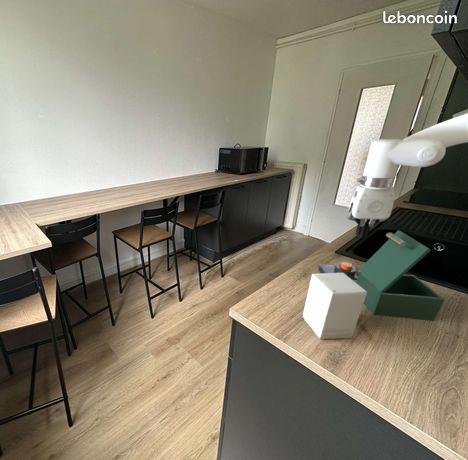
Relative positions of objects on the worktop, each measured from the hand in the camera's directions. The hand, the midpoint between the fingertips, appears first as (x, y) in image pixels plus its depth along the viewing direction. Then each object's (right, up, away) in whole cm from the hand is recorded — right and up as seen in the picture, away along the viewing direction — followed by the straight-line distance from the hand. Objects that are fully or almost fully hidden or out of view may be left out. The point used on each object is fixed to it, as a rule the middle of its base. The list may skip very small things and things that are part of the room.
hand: (361, 236), depth 84 cm
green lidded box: (+2, -22, -8) cm, 23 cm away
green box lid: (-2, -7, -14) cm, 15 cm away
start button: (-1, -12, +6) cm, 13 cm away
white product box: (-21, -25, -13) cm, 35 cm away
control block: (-2, -15, +8) cm, 17 cm away
